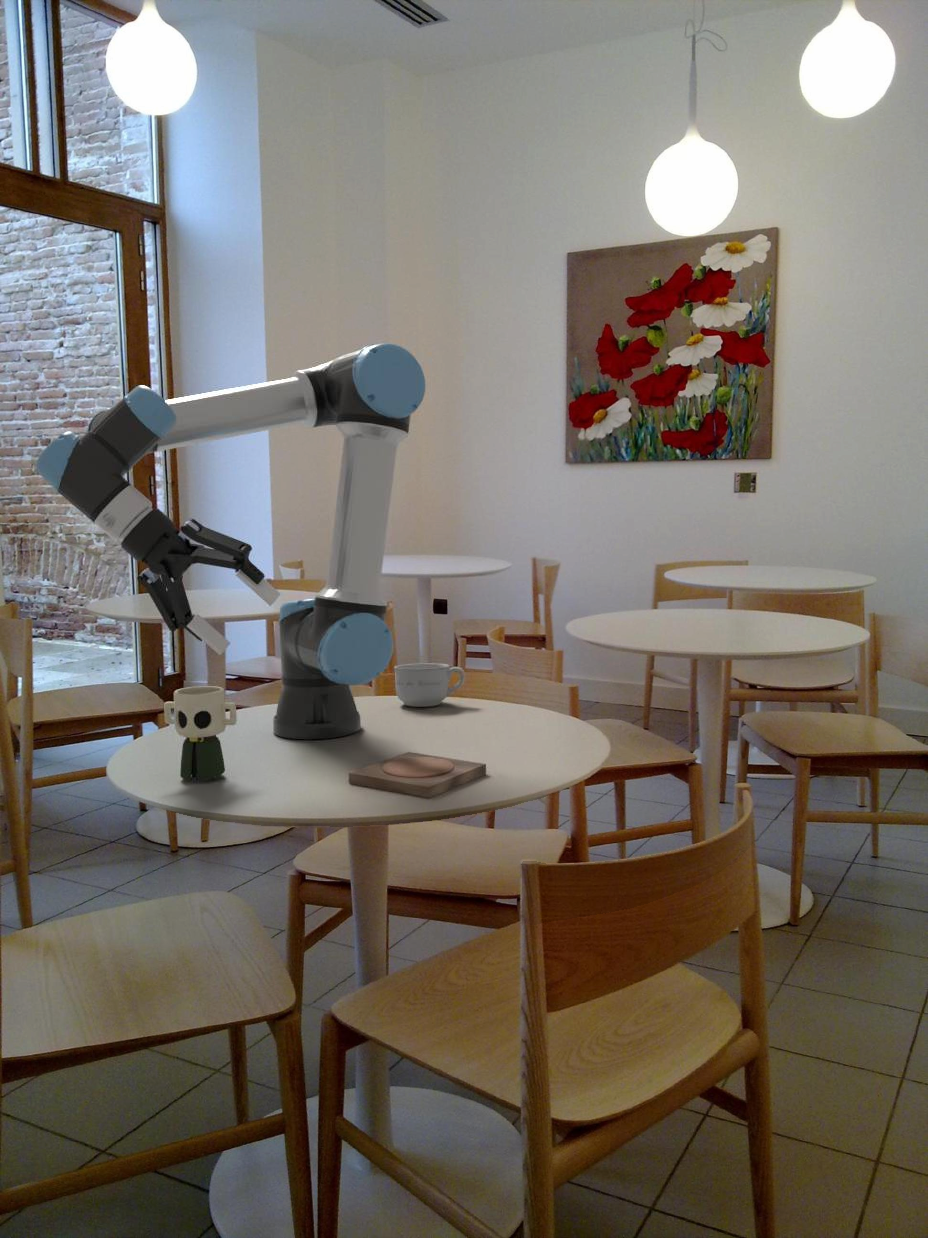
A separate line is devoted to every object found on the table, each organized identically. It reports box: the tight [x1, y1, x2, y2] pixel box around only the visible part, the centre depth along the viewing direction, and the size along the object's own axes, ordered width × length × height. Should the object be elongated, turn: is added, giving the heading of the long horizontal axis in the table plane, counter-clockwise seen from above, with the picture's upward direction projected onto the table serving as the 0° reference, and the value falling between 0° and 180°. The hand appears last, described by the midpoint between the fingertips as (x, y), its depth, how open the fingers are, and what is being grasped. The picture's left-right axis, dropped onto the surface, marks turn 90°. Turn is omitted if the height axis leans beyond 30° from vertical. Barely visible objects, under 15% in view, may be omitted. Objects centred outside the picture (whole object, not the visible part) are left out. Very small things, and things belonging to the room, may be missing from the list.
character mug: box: [163, 685, 238, 781], centre depth 145 cm, size 11×7×13 cm, turn 82°
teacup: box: [394, 662, 467, 708], centre depth 196 cm, size 14×11×8 cm
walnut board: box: [348, 751, 487, 799], centre depth 143 cm, size 14×14×2 cm
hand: (250, 625), depth 147 cm, fingers open, 13 cm apart
